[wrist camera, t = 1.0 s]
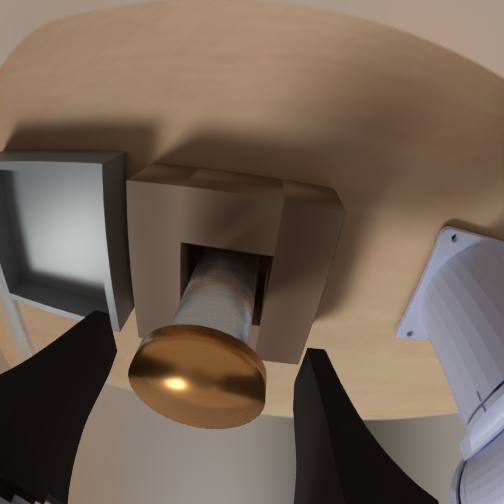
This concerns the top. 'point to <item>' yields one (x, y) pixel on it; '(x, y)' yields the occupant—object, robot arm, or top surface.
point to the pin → (206, 349)
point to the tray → (66, 232)
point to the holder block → (233, 246)
